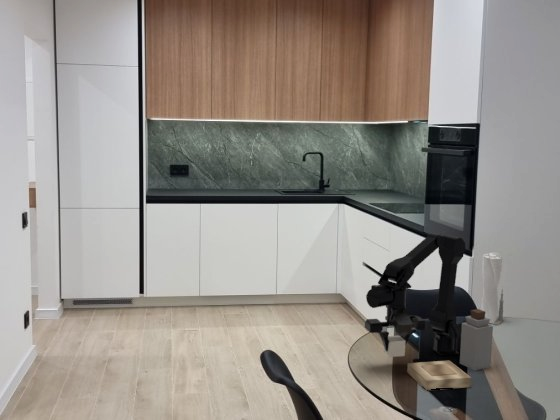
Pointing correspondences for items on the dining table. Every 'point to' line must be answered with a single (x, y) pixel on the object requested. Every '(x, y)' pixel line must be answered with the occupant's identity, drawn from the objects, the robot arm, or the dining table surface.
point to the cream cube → (395, 346)
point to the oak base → (438, 375)
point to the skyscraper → (492, 288)
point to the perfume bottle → (476, 341)
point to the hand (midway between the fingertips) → (394, 350)
